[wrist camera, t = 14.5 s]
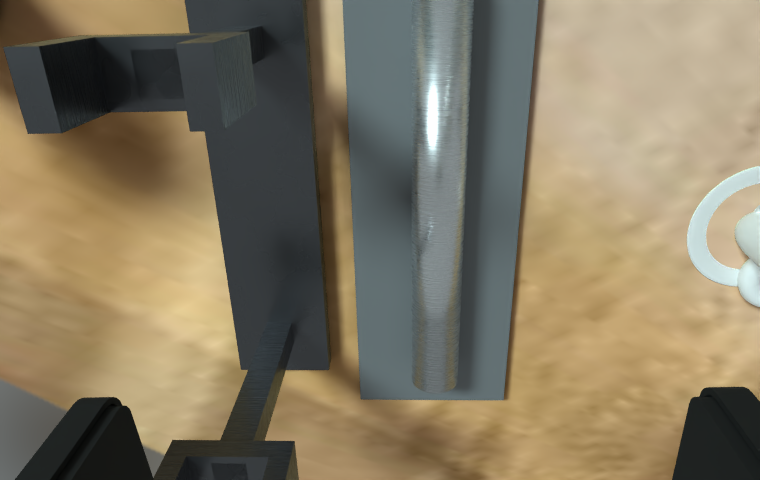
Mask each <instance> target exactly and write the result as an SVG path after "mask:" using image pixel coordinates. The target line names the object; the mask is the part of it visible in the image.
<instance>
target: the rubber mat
mask: <svg viewBox="0 0 760 480" xmlns="http://www.w3.org/2000/svg"><path fill="white" fill-rule="evenodd" d="M538 2H539V0H474V10H473V33H472V56H471V79H470V102H469V125H468V148H467V171H466V194H465V217H464V240H463V263H462V286H461V309H460V332H459V355H458V378H457V384H456V386H455V387H454V388H453V389H451V390H450V391H448V392H445V393H439V394H432V393H427V392H424V391H421V390H419V389H418V388H417V387H415V386H414V384H413V383H412V379H411V351H412V0H343V19H344V41H345V63H346V85H347V107H348V129H349V151H350V174H351V196H352V218H353V240H354V262H355V284H356V306H357V328H358V350H359V373H360V395H361V399H382V400H503V399H504V388H505V377H506V365H507V354H508V342H509V331H510V320H511V308H512V297H513V286H514V274H515V263H516V252H517V240H518V229H519V218H520V206H521V195H522V184H523V172H524V161H525V149H526V138H527V127H528V115H529V104H530V93H531V81H532V70H533V59H534V47H535V36H536V25H537V13H538Z"/></svg>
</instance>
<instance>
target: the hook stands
mask: <svg viewBox="0 0 760 480" xmlns="http://www.w3.org/2000/svg"><path fill="white" fill-rule="evenodd" d="M185 5H186V11H187V18H188V24H189V31H190V33H176V34H128V35H80V36H73V37H66V38H60V39H53V40H46V41H40V42H33V43H27V44H20V45H13V46H7V47H3V48H4V52H5V55H6V59H7V62H8V66H9V69H10V73H11V76H12V80H13V83H14V87H15V90H16V94H17V97H18V101H19V104H20V108H21V111H22V115H23V118H24V122H25V125H26V129H27V132H28V134H42V133H63V132H65V131H68V130H70V129H72V128H75V127H77V126H79V125H82V124H84V123H86V122H89V121H91V120H93V119H96V118H98V117H100V116H103V115H105V114H107V113H110V112H156V111H187V116H188V122H189V128H190V131H205V136H206V142H207V149H208V155H209V162H210V169H211V175H212V182H213V188H214V195H215V201H216V208H217V214H218V221H219V228H220V234H221V241H222V247H223V254H224V260H225V267H226V273H227V280H228V287H229V293H230V300H231V306H232V313H233V319H234V326H235V332H236V339H237V345H238V352H239V359H240V365H241V370H248V372H247V375H246V377H245V380H244V382H243V385H242V387H241V390H240V392H239V395H238V397H237V400H236V402H235V405H234V407H233V410H232V412H231V415H230V417H229V420H228V422H227V425H226V427H225V430H224V432H223V435H222V437H221V440H172V442H171V444H170V446H169V448H168V450H167V452H166V454H165V456H164V458H163V460H162V462H161V464H160V466H159V468H158V470H157V472H156V474H155V476H154V478H153V479H154V480H299V477H298V468H297V459H296V450H295V441H265V437H266V434H267V431H268V427H269V424H270V421H271V417H272V414H273V411H274V407H275V404H276V401H277V397H278V394H279V391H280V387H281V384H282V381H283V377H284V374H285V371H286V370H329V367H330V362H331V352H330V337H329V323H328V309H327V295H326V280H325V266H324V252H323V238H322V224H321V209H320V195H319V181H318V167H317V152H316V138H315V124H314V110H313V96H312V81H311V67H310V53H309V39H308V24H307V10H306V0H185Z"/></svg>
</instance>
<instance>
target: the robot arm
mask: <svg viewBox="0 0 760 480" xmlns="http://www.w3.org/2000/svg"><path fill="white" fill-rule="evenodd" d="M15 480H154V479H153V477H152V473H151V470H150V467H149V464H148V461H147V458H146V455H145V452H144V449H143V446H142V443H141V440H140V437H139V434H138V431H137V428H136V425H135V422H134V419H133V417H132V414H131V411H130V409H129V408H128V407H127V406H122V404H121V402H120V400H119V399H117V398H114V397H99V398H81V399H79V400H77V401H76V402H75V403H74V404H73V406H72V407H71V408H70V409H69V411H68V412H67V413H66V415H65V416H64V417H63V418H62V420H61V421H60V422H59V424H58V425H57V426H56V428H55V429H54V430H53V431H52V433H51V434H50V435H49V436H48V438H47V439H46V440H45V442H44V443H43V444H42V446H41V447H40V448H39V449H38V451H37V452H36V453H35V454H34V456H33V457H32V459H31V460H30V461H29V462H28V463H27V465H26V466H25V467H24V469H23V470H22V471H21V472H20V474H19V475H18V476H17V478H16V479H15ZM672 480H760V402H759V400H758V399H757V398H756V397H755V395H754V394H753V393H752V392H751V391H750V390H749V389H747V388H745V387H708V388H704V389H703V390H702V391H701V394H700V396H699V397H693V398H692V399H691V401H690V403H689V407H688V412H687V416H686V421H685V425H684V430H683V434H682V438H681V443H680V447H679V452H678V456H677V461H676V465H675V469H674V474H673V478H672Z"/></svg>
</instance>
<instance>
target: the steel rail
mask: <svg viewBox="0 0 760 480" xmlns="http://www.w3.org/2000/svg"><path fill="white" fill-rule="evenodd" d="M473 10H474V0H412V351H411V379H412V383H413V384H414V386H415V387H417V388H418V389H419V390H421V391H424V392H427V393H432V394H439V393H445V392H448V391H450V390H451V389H453V388H454V387H455V386H456V384H457V378H458V355H459V332H460V309H461V286H462V263H463V240H464V217H465V194H466V171H467V148H468V125H469V102H470V79H471V56H472V33H473Z"/></svg>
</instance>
